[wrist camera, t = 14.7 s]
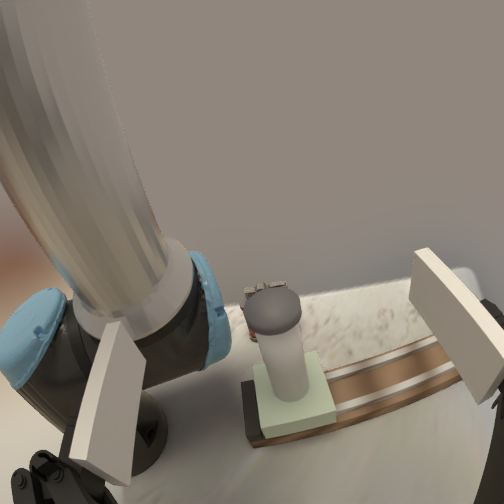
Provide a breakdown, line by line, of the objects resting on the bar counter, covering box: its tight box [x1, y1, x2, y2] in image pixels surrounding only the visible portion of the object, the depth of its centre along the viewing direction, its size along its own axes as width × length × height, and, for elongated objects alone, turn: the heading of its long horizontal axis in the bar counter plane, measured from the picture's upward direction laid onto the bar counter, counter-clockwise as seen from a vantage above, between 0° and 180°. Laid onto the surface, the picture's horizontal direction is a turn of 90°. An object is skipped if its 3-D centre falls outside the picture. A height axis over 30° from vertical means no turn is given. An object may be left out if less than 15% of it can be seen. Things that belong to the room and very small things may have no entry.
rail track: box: [241, 334, 462, 448], centre depth 34 cm, size 30×8×4 cm, turn 96°
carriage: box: [243, 287, 336, 439], centre depth 29 cm, size 8×9×16 cm
